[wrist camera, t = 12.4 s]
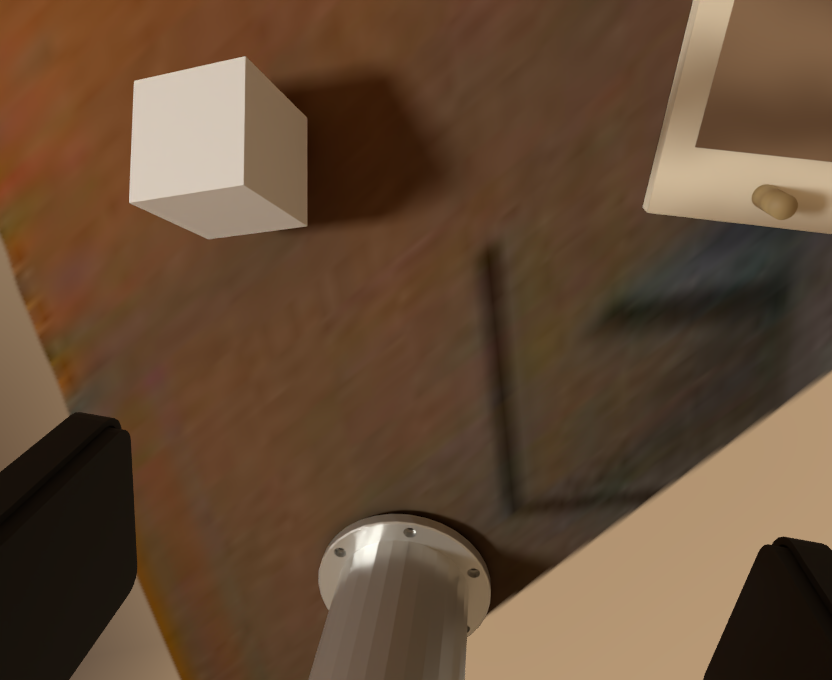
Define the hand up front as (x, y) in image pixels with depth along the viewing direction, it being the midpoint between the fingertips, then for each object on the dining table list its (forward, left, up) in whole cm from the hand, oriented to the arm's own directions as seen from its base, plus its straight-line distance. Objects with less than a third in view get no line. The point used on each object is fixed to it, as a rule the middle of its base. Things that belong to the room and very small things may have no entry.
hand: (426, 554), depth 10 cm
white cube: (+1, +12, -29) cm, 31 cm away
